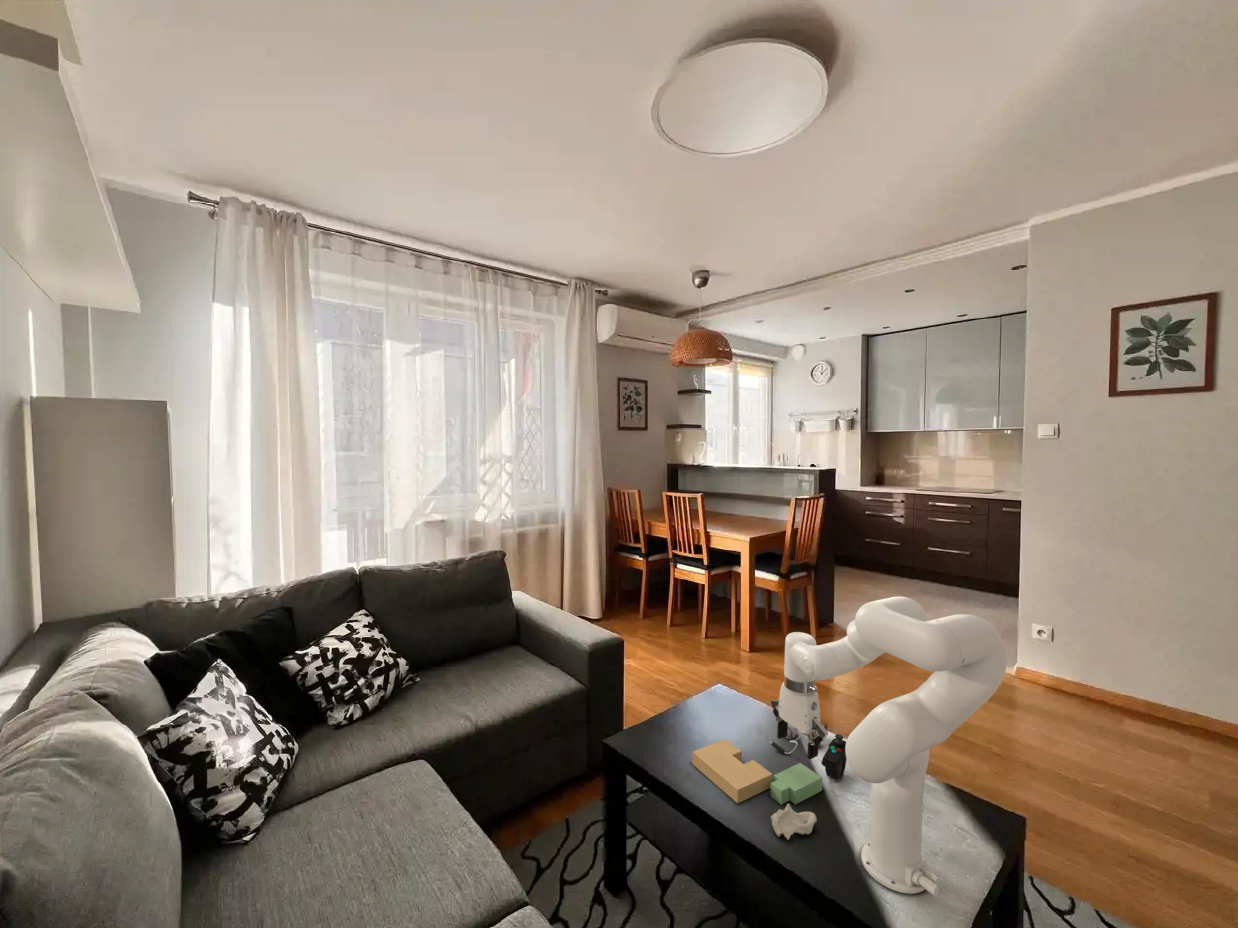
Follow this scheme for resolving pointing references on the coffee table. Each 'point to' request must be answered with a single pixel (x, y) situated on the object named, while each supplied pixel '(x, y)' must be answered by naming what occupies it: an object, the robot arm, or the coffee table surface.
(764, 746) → the coffee table surface
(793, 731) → the clip-on lamp
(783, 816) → the coral
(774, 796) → the green pad
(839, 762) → the controller
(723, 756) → the sand pad
